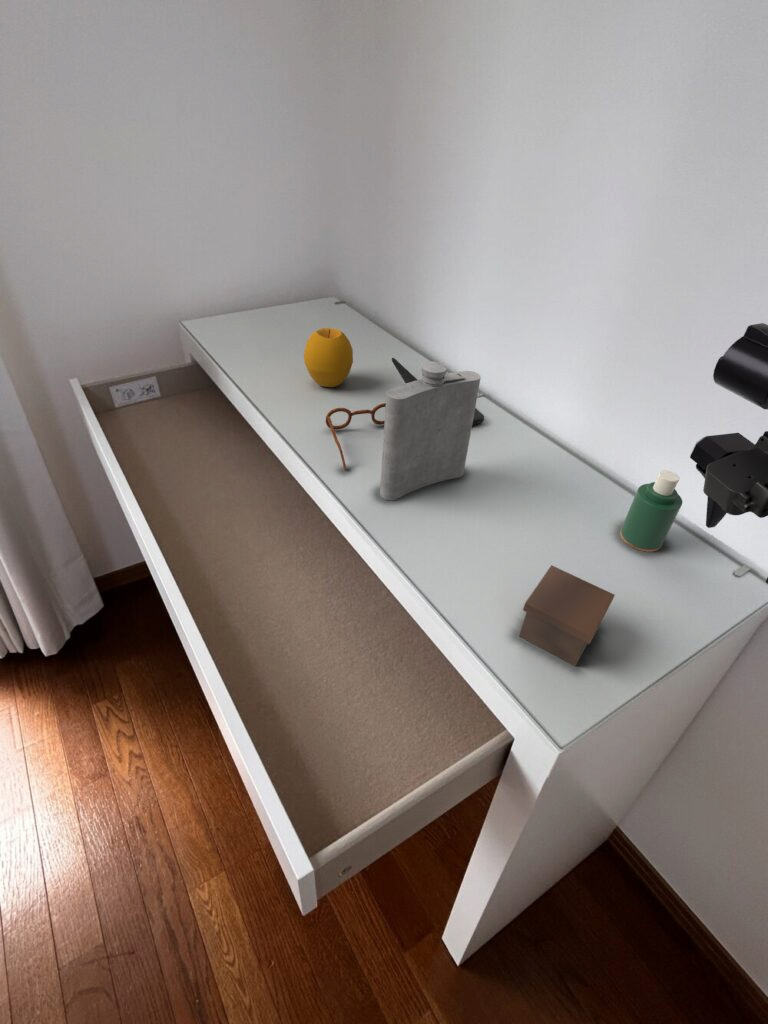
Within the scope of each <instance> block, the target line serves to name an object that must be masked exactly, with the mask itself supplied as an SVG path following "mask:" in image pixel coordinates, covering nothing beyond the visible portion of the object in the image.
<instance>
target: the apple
mask: <svg viewBox="0 0 768 1024" xmlns="http://www.w3.org/2000/svg"><path fill="white" fill-rule="evenodd" d="M303 351H304V352H303V361H304V365H305V367H306V370H307V372H308V374H309V376H310V377H311V379H312V381H314V382H315V383H316V384H317V385H318V386H321V387H326V388H335V387H338V386H340V385H341V384H342V383H344V381H345V380H346V379H347V378H348V376H349V374H350V372H351V369H352V367H353V363H354V349H353V346H352V344H351V342H350V339H349V338H348V336H347V335H346V334H345V333H344V332H343V331H341V330H339V328H331V327H323V328H320V329H317V330H315V331H313V332H312V333H311V334H310V336H309V337H308V339H307V340H306V344H305V347H304V350H303Z"/></svg>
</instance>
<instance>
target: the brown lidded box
mask: <svg viewBox="0 0 768 1024" xmlns="http://www.w3.org/2000/svg"><path fill="white" fill-rule="evenodd" d="M615 596H616V594H614V593H612V592H610V591H608V590H606V589H603V588H601V587H599V586H597V585H595V584H593V583H591V582H589V581H587V580H584V579H582V578H580V577H578V576H576V575H574V574H572V573H569V572H567V571H565V570H563V569H561V568H559V567H557V566H554V565H550V566H549V568H548V569H547V570H546V572H545V573H544V575H543V576H542V578H541V579H540V581H539V582H538V584H537V585H536V586H535V588H534V589H533V591H532V592H531V594H530V595H529V597H528V598H527V599H526V601H525V602H524V605H523V608H522V611H523V612H525V616H524V619H523V622H522V625H521V628H520V630H519V633H518V637H519V638H521V639H523V640H525V641H527V642H529V643H530V644H533V645H535V646H536V647H538V648H540V649H542V650H544V651H545V652H548V653H550V654H551V655H553V656H555V657H557V658H559V659H560V660H563V661H564V662H566V663H568V664H569V665H572V666H574V667H576V666H577V664H578V663H579V660H580V659H581V657H582V655H583V653H584V651H585V649H586V647H587V646H588V645H590V644H591V642H592V641H593V638H594V637H595V635H596V633H597V631H598V630H599V627H600V625H601V623H602V621H603V620H604V618H605V616H606V614H607V612H608V611H609V608H610V606H611V604H612V602H613V600H614V598H615Z"/></svg>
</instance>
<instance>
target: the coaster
mask: <svg viewBox="0 0 768 1024" xmlns="http://www.w3.org/2000/svg"><path fill="white" fill-rule="evenodd" d="M619 531H620V532H619V535H620V538H621V539H622V540H623V542H624V543H625V544H626V545H628V546H629V547H631V548H632V549H635V550H638V551H641V552H647V553H649V552H650V553H651V552H656V551H659V550H660V549H661V548H662V547H663V544H662V545H661V546H660V547H659V548H657V549H651V550H649V549H642V548H639V547H636V546H634V545H632V544H630V543H629V542H628V541H626V540H625V539H624V537H623V536H622V534H621V530H619Z"/></svg>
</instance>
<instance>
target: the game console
mask: <svg viewBox="0 0 768 1024" xmlns="http://www.w3.org/2000/svg"><path fill="white" fill-rule="evenodd" d="M391 362H392V363H393V365H394V367H395V369H396V371H397V372H398V374H399V375H400V377H401V379H402V380H403V382H404V384H406V383H409V382H413V381H416V380H418V379H417V377H415V376H414V374H412V372H410V371H409V370H408V369H407V368H406V367H405V366H403V364H401V363H400V362H399V361H398V360H397V359H396V358H395V357H392V358H391ZM484 421H485V415H484V414H483V413H482V412H481V411H480V410H479V409H477V408H476V407H475V412H474V418H473V423H472V426H473V425H477V424H481V423H483V422H484Z"/></svg>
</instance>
